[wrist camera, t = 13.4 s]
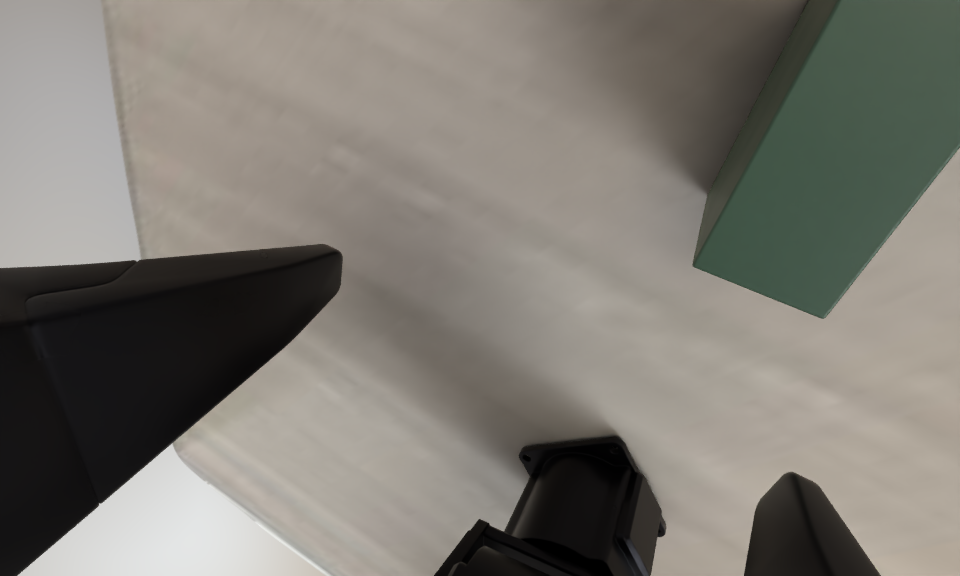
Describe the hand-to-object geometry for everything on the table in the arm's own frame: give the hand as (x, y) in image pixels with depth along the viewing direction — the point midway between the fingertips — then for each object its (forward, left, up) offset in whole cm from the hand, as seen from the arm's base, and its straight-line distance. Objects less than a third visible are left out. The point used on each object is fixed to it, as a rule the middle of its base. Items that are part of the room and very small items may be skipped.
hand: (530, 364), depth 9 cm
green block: (+6, 0, -13) cm, 14 cm away
